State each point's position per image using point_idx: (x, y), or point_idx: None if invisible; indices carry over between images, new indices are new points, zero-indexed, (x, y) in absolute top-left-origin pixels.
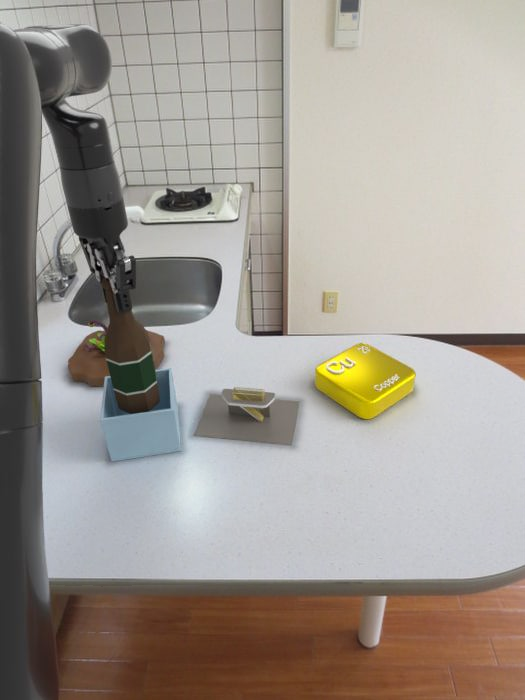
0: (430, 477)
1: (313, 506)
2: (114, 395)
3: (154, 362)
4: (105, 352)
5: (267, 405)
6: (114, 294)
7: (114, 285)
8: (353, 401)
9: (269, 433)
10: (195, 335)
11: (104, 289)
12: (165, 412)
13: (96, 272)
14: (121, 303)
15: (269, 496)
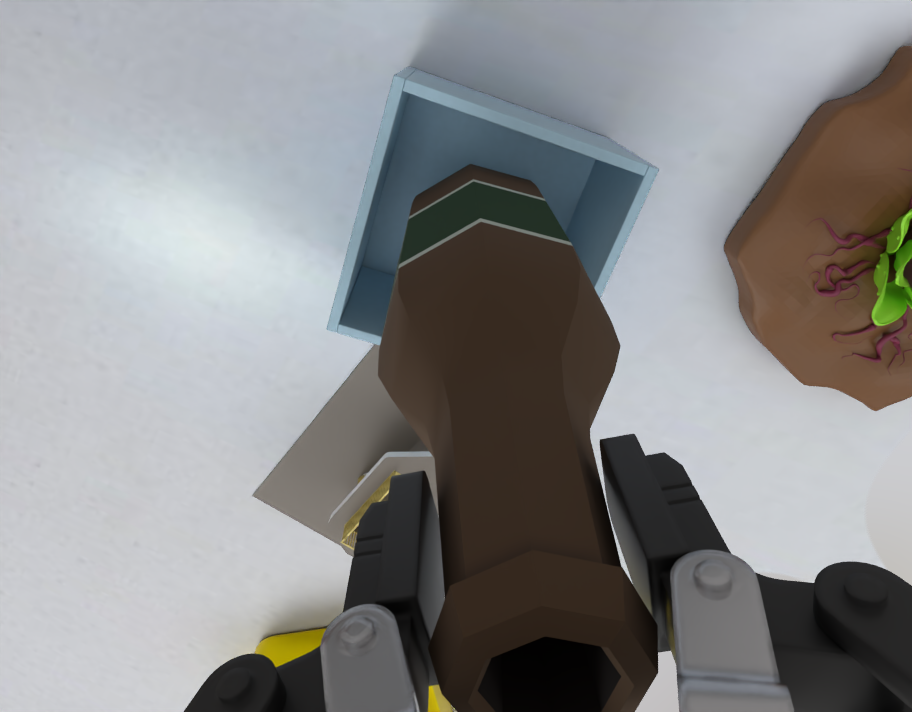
0: (68, 645)
1: (61, 451)
2: (617, 168)
3: (760, 339)
4: (480, 236)
5: (330, 527)
6: (390, 586)
7: (328, 690)
8: (282, 662)
9: (312, 473)
10: (823, 482)
11: (629, 522)
12: (334, 302)
13: (737, 630)
14: (361, 555)
15: (117, 390)
